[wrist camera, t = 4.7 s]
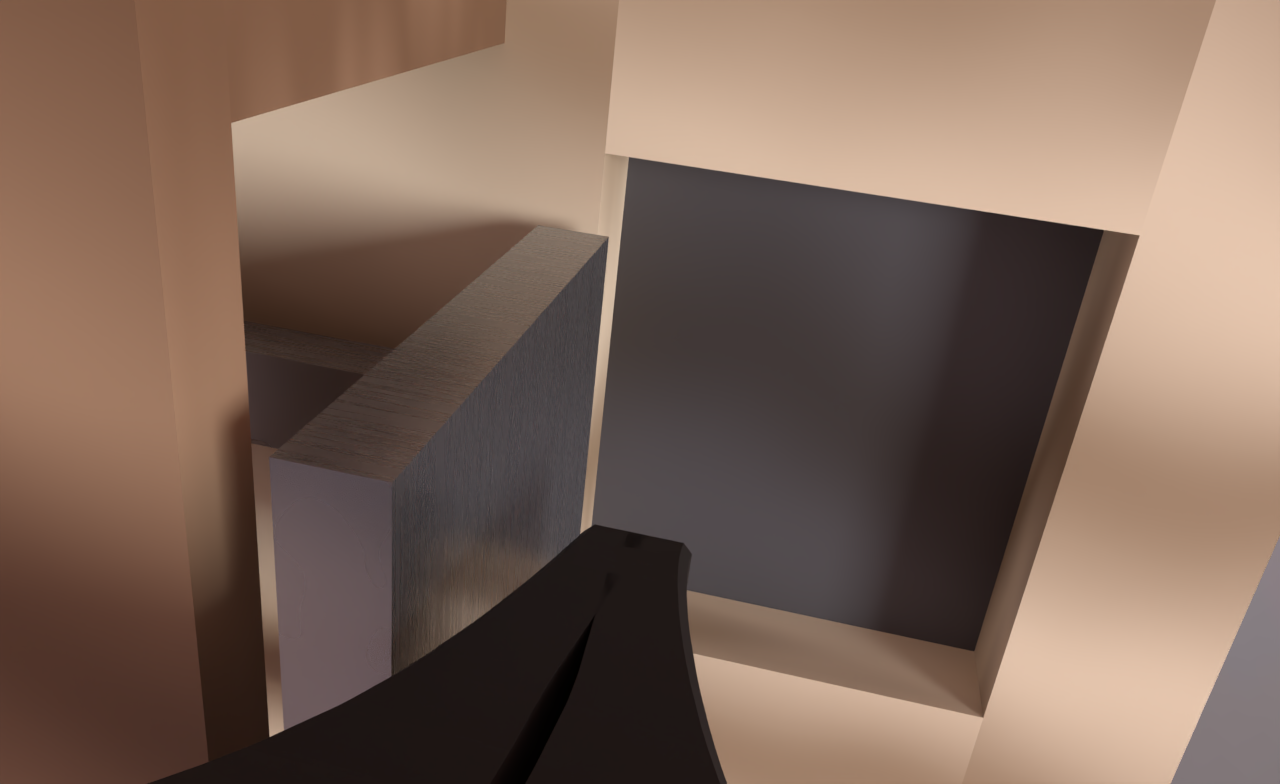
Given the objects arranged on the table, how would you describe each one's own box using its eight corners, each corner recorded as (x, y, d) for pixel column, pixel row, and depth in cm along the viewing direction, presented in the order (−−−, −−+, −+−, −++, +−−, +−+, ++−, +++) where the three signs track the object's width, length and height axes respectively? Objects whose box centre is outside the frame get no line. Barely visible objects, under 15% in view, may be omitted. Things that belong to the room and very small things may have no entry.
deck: (1067, 880, 20) (1086, 973, 18) (-139, 588, 24) (-221, 642, 22) (1494, -174, 12) (1600, -192, 10) (-387, -351, 16) (-544, -386, 14)
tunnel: (471, 737, 19) (249, 1179, 12) (128, 654, 20) (-252, 1021, 13) (511, -102, 13) (121, -142, 6) (19, -161, 14) (-775, -248, 7)
